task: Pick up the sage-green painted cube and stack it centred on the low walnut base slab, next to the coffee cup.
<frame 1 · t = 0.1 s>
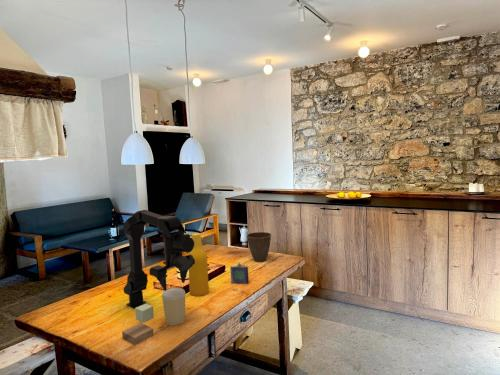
hand: (174, 286, 138), 15 cm above the table, fingers open, 9 cm apart
base: (138, 337, 129), on the table
coffee cup: (175, 321, 140), on the table
beer bottle: (199, 292, 167), on the table
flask: (240, 283, 177), on the table
cube: (145, 318, 143), on the table
plant pot: (259, 260, 213), on the table
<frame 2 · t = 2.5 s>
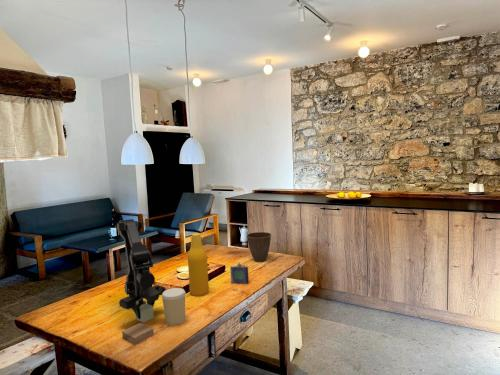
hand: (144, 316, 143), 1 cm above the table, fingers closed on cube, 5 cm apart
cube: (145, 318, 143), on the table, touching gripper
everything else where it was.
when the fingers open (5 cm above the table, at t = 5.7 s): cube drops 2 cm, point 3 cm above the table.
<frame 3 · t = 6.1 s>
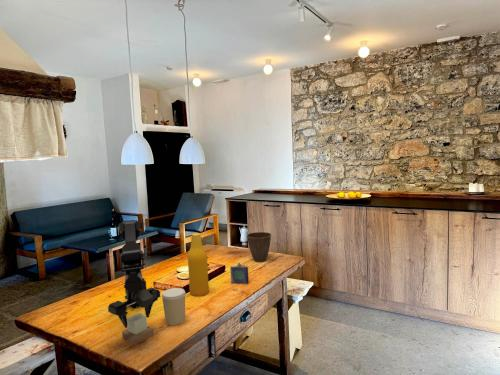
hand: (137, 322, 128), 5 cm above the table, fingers open, 9 cm apart
cube: (137, 329, 129), point 3 cm above the table
everything else where it was.
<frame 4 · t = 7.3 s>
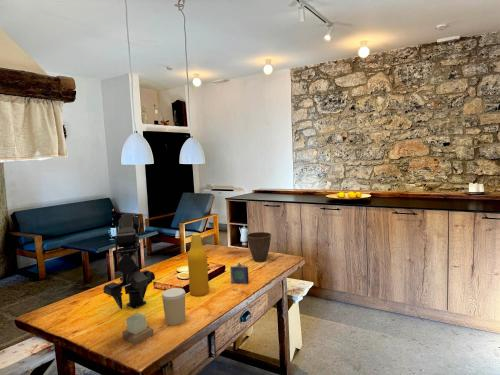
hand: (132, 303, 131), 11 cm above the table, fingers open, 9 cm apart
nothing on the table moved.
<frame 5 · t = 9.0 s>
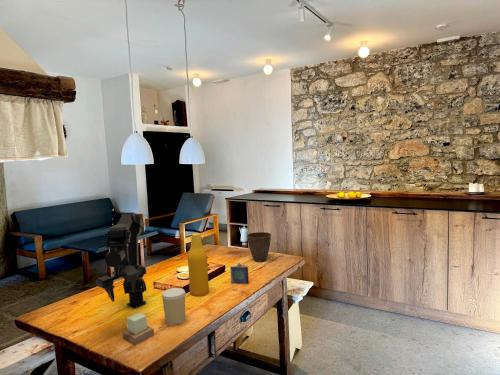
hand: (123, 297, 136), 12 cm above the table, fingers open, 9 cm apart
nothing on the table moved.
at the end: cube 0.5 cm off-centre on the base, point 3.1 cm above the base's base; cube tilted 1°; the gripper is holding nothing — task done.
